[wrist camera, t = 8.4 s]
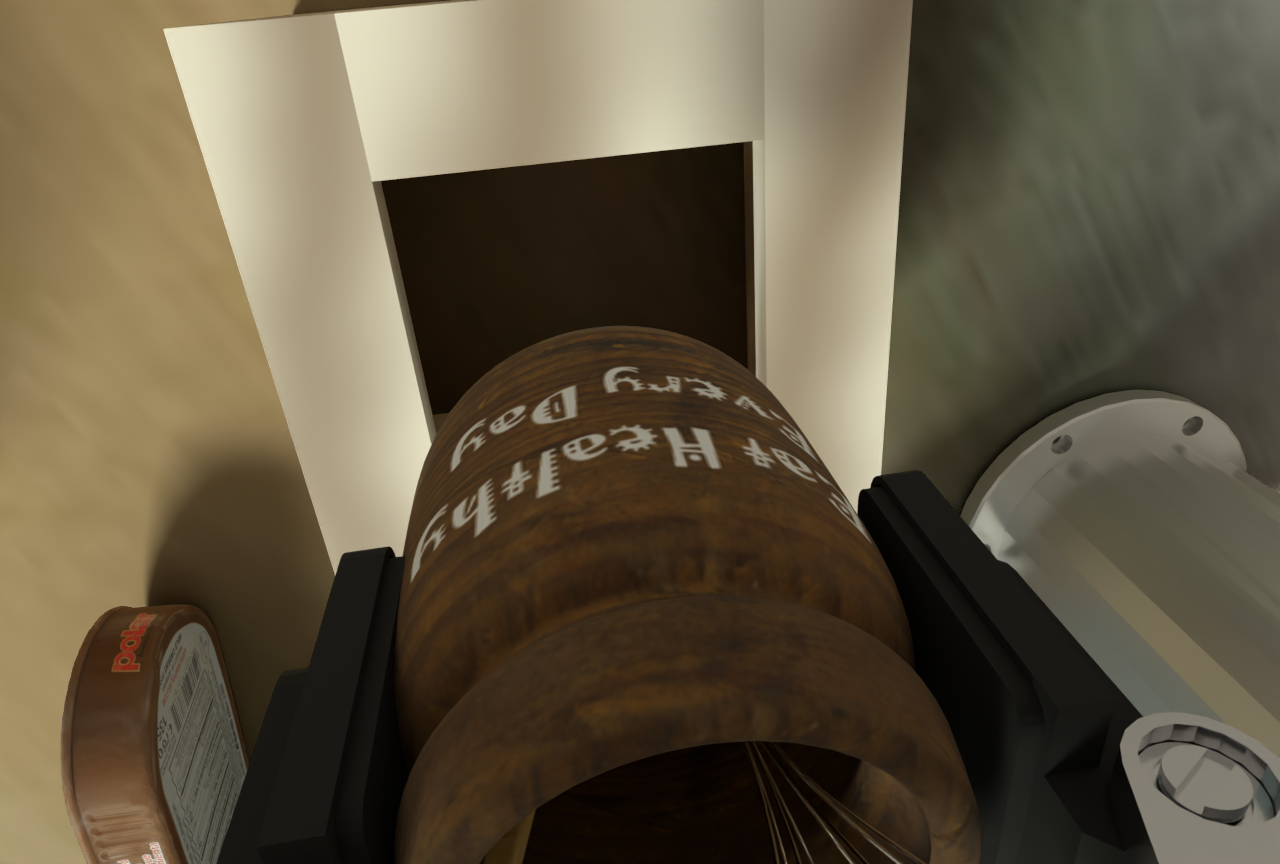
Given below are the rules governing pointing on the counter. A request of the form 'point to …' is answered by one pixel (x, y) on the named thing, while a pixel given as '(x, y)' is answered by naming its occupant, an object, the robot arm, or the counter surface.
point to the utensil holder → (655, 632)
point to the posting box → (534, 134)
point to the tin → (151, 739)
